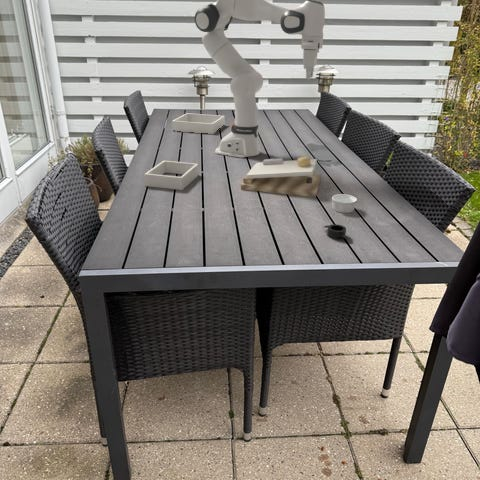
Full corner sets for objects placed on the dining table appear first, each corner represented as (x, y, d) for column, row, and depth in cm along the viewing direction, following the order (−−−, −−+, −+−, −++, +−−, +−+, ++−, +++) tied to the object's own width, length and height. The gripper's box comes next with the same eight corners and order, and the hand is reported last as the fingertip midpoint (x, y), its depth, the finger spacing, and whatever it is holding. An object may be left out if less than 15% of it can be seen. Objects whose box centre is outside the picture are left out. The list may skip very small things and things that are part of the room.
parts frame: (145, 185, 188) (144, 174, 185) (164, 171, 205) (163, 160, 203) (182, 190, 184) (181, 178, 182) (198, 175, 202) (198, 163, 199)
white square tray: (172, 131, 275) (172, 120, 272) (187, 122, 296) (186, 113, 294) (212, 134, 269) (212, 124, 267) (224, 125, 291) (224, 115, 288)
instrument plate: (247, 178, 186) (245, 167, 184) (256, 166, 202) (255, 155, 200) (312, 175, 179) (311, 163, 177) (316, 162, 194) (316, 151, 193)
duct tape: (344, 230, 154) (345, 222, 153) (351, 243, 145) (352, 235, 144) (321, 229, 154) (322, 221, 152) (326, 242, 145) (327, 234, 143)
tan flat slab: (240, 189, 186) (241, 180, 185) (252, 173, 206) (253, 164, 204) (315, 197, 180) (316, 187, 178) (320, 179, 199) (321, 171, 198)
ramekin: (341, 215, 165) (342, 204, 163) (325, 207, 172) (327, 196, 170) (360, 211, 168) (362, 200, 166) (344, 203, 175) (346, 192, 173)
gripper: (307, 42, 204) (304, 75, 210) (301, 44, 186) (299, 80, 192) (321, 42, 202) (318, 76, 208) (317, 45, 185) (314, 81, 191)
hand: (309, 78), depth 200 cm, fingers open, 8 cm apart
